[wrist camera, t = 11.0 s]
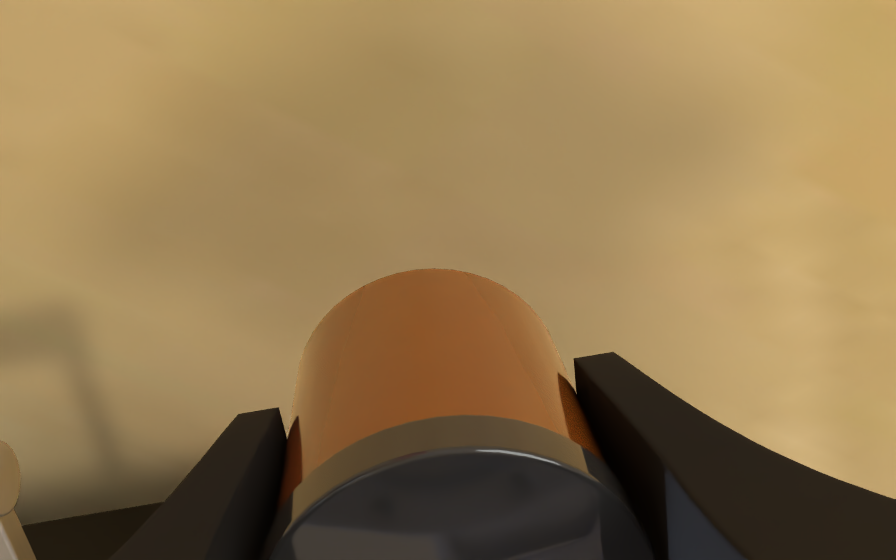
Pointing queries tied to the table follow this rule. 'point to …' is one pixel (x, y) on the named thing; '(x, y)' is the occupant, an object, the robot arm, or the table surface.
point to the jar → (443, 436)
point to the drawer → (61, 525)
